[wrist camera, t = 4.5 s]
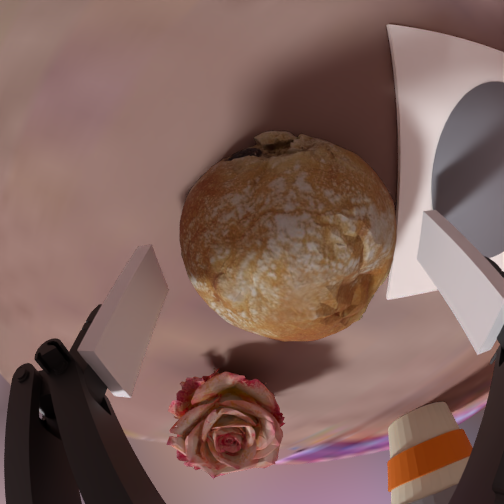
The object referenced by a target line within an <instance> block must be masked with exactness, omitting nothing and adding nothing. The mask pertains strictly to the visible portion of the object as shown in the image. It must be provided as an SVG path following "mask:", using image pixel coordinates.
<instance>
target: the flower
mask: <svg viewBox="0 0 504 504" xmlns="http://www.w3.org/2000/svg"><path fill="white" fill-rule="evenodd" d="M219 369H220V368H219ZM219 369H217V370H215V369H214V373H213V374H211V375H210V376H203V377H202V378H198V377H193V378H187V379H186V382H181V383H180V385H181V386H182V390H180V391H179V392H178V393H177V400H176V401H174V400H173V401H172V403H171V405H170V406H169V410H168V411H169V412H171V413H173V414H174V415H176V416H177V417H178V418H177V417H175V418H176V419H179V420H178V421H177V422H176V423H175V424H174V426H173V427H172V428H171V429H170V430H169V431H170V433H174V434H177V437H173V436H170V437H169V439H168V442H167V445H172V446H173V447H174V448H175V449H177V458H178V459H179V460H180V461H187V462H186V463H184V465H186V466H190V467H192V466H194V469H195V470H197V469H202V470H204V471H205V472H206V473H208V474H209V475H210V476H211V477H212V478H215V477H217V476H220V475H225V474H228V473H232V472H237V471H243V470H248V469H251V468H266V467H268V466H270V465H273V464H275V461H277V459H278V452H279V447H280V443H281V440H282V437H283V431H282V430H281V428H280V427H281V426H283V425H284V424H285V423H283V420H284V417H282V415H283V414H282V413H280V408H279V406H278V404H277V402H276V400H275V397H274V394H273V393H271V392H270V391H269V390H268V389H267V388H266V387H265V384H266V383H267V382H266V383H264V384H263V383H261V382H260V381H259V380H258V379H253V380H248V379H245V376H244V375H238V374H234V373H230V372H226V371H225V372H223V373H221V374H219V373H218V371H219ZM222 376H223V377H222ZM176 425H177V427H175V426H176Z"/></svg>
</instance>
